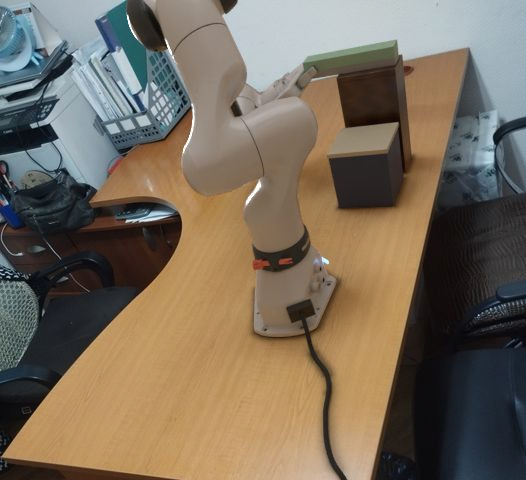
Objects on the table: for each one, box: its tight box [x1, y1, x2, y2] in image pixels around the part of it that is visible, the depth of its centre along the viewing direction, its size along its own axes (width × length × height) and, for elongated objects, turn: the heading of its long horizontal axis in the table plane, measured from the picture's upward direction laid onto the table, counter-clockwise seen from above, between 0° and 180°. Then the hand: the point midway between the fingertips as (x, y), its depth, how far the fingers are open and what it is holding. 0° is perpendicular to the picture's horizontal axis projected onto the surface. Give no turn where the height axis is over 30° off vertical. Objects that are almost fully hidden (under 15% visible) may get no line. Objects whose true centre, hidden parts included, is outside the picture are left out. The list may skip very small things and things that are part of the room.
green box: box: [302, 39, 400, 80], centre depth 121 cm, size 22×4×4 cm, turn 66°
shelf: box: [336, 53, 413, 174], centre depth 130 cm, size 14×8×26 cm, turn 66°
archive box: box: [326, 122, 404, 209], centre depth 126 cm, size 14×12×15 cm
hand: (318, 63), depth 124 cm, fingers closed on green box, 4 cm apart
